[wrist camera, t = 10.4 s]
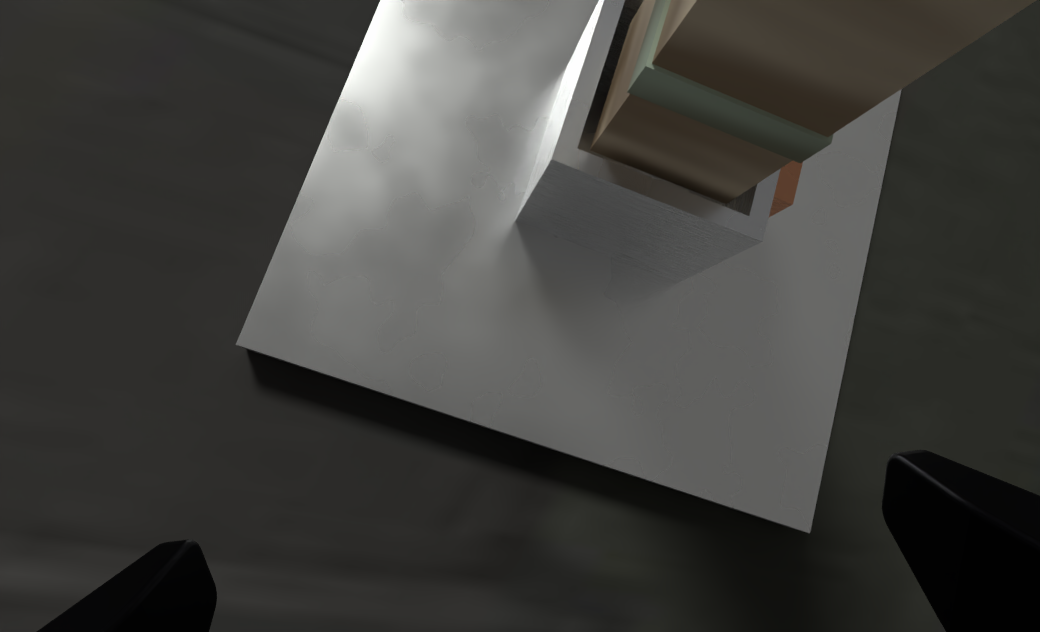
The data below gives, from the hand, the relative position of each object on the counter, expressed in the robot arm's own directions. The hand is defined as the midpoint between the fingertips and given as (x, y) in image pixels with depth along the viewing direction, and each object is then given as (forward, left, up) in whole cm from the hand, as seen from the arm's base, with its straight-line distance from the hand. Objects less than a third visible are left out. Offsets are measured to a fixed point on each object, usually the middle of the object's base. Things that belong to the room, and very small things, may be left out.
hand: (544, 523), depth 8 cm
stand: (+10, -3, -11) cm, 16 cm away
